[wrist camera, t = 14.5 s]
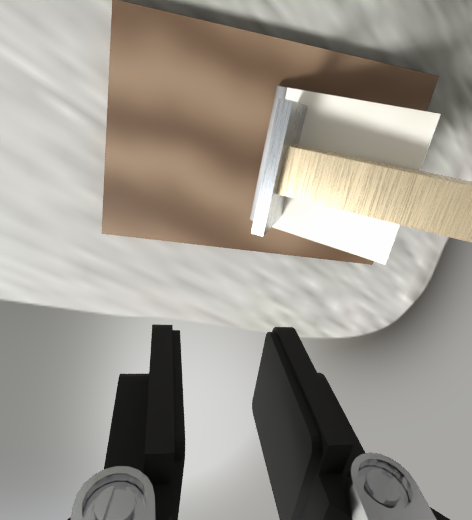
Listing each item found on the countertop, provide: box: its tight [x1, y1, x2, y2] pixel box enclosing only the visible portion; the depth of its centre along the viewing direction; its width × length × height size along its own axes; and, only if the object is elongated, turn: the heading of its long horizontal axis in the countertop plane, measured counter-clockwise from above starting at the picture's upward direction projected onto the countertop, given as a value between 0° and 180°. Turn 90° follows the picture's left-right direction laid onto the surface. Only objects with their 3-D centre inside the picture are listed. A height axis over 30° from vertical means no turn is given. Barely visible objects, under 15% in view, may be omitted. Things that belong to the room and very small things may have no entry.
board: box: [102, 0, 439, 265], centre depth 30 cm, size 16×24×2 cm, turn 80°
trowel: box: [251, 98, 472, 242], centre depth 24 cm, size 8×6×13 cm
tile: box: [250, 86, 441, 265], centre depth 27 cm, size 10×11×1 cm
